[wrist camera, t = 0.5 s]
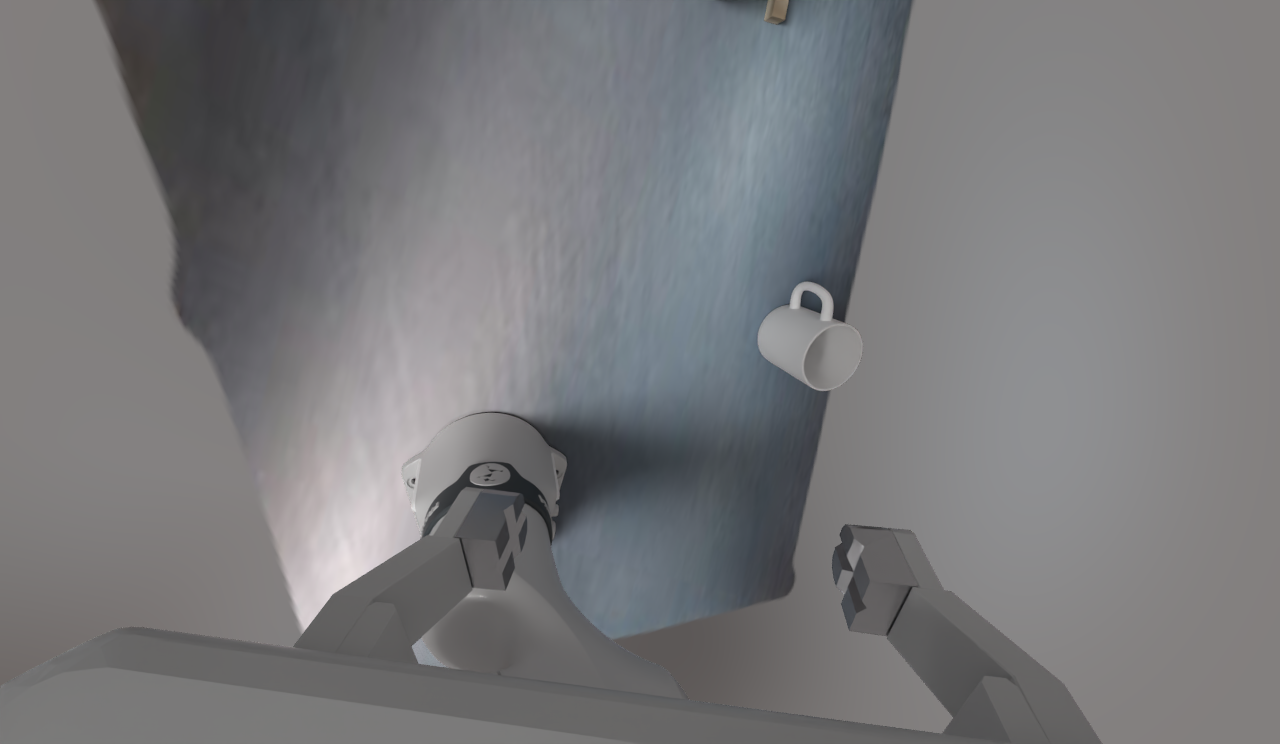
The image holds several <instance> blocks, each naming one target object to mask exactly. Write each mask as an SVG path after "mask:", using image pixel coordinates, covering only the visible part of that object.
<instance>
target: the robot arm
mask: <svg viewBox="0 0 1280 744" xmlns="http://www.w3.org/2000/svg"><path fill="white" fill-rule="evenodd" d="M566 468H567V459H566V457H565V456H564V455H563V454H562V453H560V452H559V451H557V450H555V449H554V448H552V447H550V446H549V445H548V444H547V443H546V442H545V440H544V439H543V438H542V436H541V435H540V434H539V432H538V431H537V430H536V429H535V428H534V427H532V426H531V425H530V424H528V423H527V422H525V421H523V420H521V419H519V418H517V417H514V416H511V415H507V414H501V413H481V414H475V415H471V416H468V417H465V418H462V419H460V420H457V421H455V422H454V423H452V424H450V425H449V426H447V427H446V428H444V429H443V430H442V431H441V432H440V433H439V434H438V435H437V436H436V437H435V438H434V439H433V441H432V442H431V443H430V445H429V446H428V447H427V448H426V449H425V450H424V451H423V452H422V453H420V454H418V455H416V456H414V457H413V458H411V459H410V460H408V461H407V462H406V463H405V464H404V465H403V466H402V473H401V475H402V479H403V482H404V485H405V488H406V491H407V494H408V498H409V501H410V504H411V507H412V511H413V513H414V516H415V519H416V523H417V526H418V529H419V532H420V535H421V539H420V540H419V541H417V542H415V543H414V544H412V545H411V546H409V547H407V548H406V549H404V550H403V551H401V552H400V553H398V554H396V555H395V556H393V557H392V558H390V559H388V560H387V561H385V562H384V563H382V564H380V565H379V566H377V567H376V568H374V569H373V570H371V571H369V572H368V573H366V574H365V575H363V576H361V577H360V578H358V579H357V580H355V581H353V582H352V583H350V584H349V585H347V586H345V587H344V588H342V589H341V590H339V591H338V592H336V593H334V594H333V595H332V596H331V598H330V599H329V600H328V602H327V603H326V604H325V605H324V607H323V608H322V609H321V611H320V612H319V613H318V615H317V616H316V617H315V619H314V620H313V621H312V622H311V624H310V625H309V626H308V628H307V629H306V630H305V632H304V633H303V634H302V636H301V637H300V638H299V640H298V641H297V642H296V643H295V645H294V646H293V647H287V646H280V645H272V644H265V643H257V642H250V641H242V640H234V639H227V638H220V637H212V636H205V635H197V634H189V633H182V632H175V631H167V630H160V629H152V628H144V627H125V628H118V629H115V630H111V631H110V632H107V633H105V634H102V635H100V636H98V637H96V638H94V639H91V640H89V641H86V642H84V643H83V644H81V645H78V646H77V647H74V648H72V649H70V650H69V651H66V652H64V653H63V654H61V655H59V656H56V657H55V658H53V659H51V660H48V661H47V662H45V663H43V664H41V665H39V666H37V667H35V668H33V669H31V670H29V671H27V672H25V673H23V674H21V675H19V676H18V677H16V678H14V679H12V680H10V681H8V682H6V683H5V684H3V685H1V686H0V744H1102V743H1101V741H1100V739H1099V738H1098V736H1097V735H1096V733H1095V732H1094V730H1093V729H1092V727H1091V725H1090V724H1089V722H1088V721H1087V719H1086V718H1085V716H1084V714H1083V713H1082V711H1081V710H1080V708H1079V707H1078V705H1077V704H1076V702H1075V701H1074V699H1073V697H1072V696H1071V694H1070V693H1069V691H1068V690H1067V688H1066V686H1065V685H1064V684H1063V683H1062V682H1061V681H1060V680H1059V679H1057V678H1056V677H1055V676H1054V675H1052V674H1051V673H1050V672H1049V671H1048V670H1046V669H1045V668H1044V667H1043V666H1041V665H1040V664H1039V663H1038V662H1037V661H1035V660H1034V659H1033V658H1032V657H1030V656H1029V655H1028V654H1027V653H1026V652H1024V651H1023V650H1022V649H1021V648H1019V647H1018V646H1017V645H1016V644H1015V643H1014V642H1012V641H1011V640H1010V639H1009V638H1007V637H1006V636H1005V635H1004V634H1003V633H1001V632H1000V631H999V630H998V629H996V628H995V627H994V626H993V625H992V624H990V623H989V622H988V621H987V620H985V619H984V618H983V617H982V616H980V615H979V614H978V613H977V612H976V611H975V610H973V609H972V608H971V607H970V606H968V605H967V604H966V603H965V602H964V601H962V600H961V599H960V598H959V597H957V596H956V595H955V594H954V593H953V592H951V591H945V590H944V589H943V587H942V585H941V583H940V581H939V579H938V578H937V576H936V574H935V572H934V570H933V568H932V566H931V564H930V562H929V561H928V559H927V557H926V555H925V553H924V551H923V549H922V547H921V545H920V543H919V541H918V540H917V538H916V536H915V534H914V533H913V532H912V531H911V530H904V529H892V528H882V527H871V526H858V525H846V524H845V526H843V528H842V530H841V533H840V537H841V540H842V543H841V544H840V545H838V546H837V547H835V551H834V554H833V559H832V570H833V577H834V581H835V584H836V587H837V588H838V589H839V590H840V591H841V592H842V593H843V594H844V598H843V601H842V603H841V605H842V608H843V612H844V615H845V618H846V621H847V625H848V628H849V631H854V632H861V633H868V634H875V635H882V636H888V637H887V639H888V640H889V641H890V642H891V644H892V645H893V646H894V647H895V648H896V650H897V651H898V652H899V653H900V655H901V656H902V657H903V658H904V659H905V660H906V662H907V663H908V664H909V665H910V666H911V667H912V669H913V670H914V671H915V672H916V674H917V675H918V676H919V677H920V678H921V680H922V681H923V682H924V683H925V684H926V686H927V687H928V688H929V689H930V690H931V692H933V694H934V695H935V696H936V697H937V699H938V700H939V701H940V702H941V703H942V705H943V706H944V707H945V708H946V709H947V711H948V712H949V713H950V714H951V715H952V717H953V719H952V721H951V722H950V723H949V725H948V726H947V727H946V729H945V730H944V732H943V733H942V734H939V733H932V732H925V731H917V730H909V729H902V728H895V727H887V726H880V725H872V724H865V723H857V722H849V721H842V720H834V719H826V718H819V717H812V716H804V715H797V714H788V713H781V712H773V711H767V710H759V709H751V708H744V707H737V706H729V705H722V704H714V703H707V702H698V701H692V700H689V698H688V697H687V695H686V694H685V692H684V690H683V689H682V688H681V686H680V685H679V683H678V682H677V681H676V680H675V678H674V677H673V676H672V675H671V674H670V673H669V672H668V671H667V670H666V669H665V668H663V667H662V666H660V665H658V664H655V663H653V662H650V661H647V660H645V659H643V658H641V657H638V656H637V655H635V654H633V653H631V652H629V651H627V650H626V649H624V648H623V647H621V646H620V645H618V644H617V643H615V642H613V641H612V640H611V639H610V638H608V637H607V636H606V635H604V634H603V633H602V632H601V631H600V630H599V629H597V628H596V627H595V626H594V625H593V624H592V623H591V622H590V621H589V620H588V619H587V618H586V617H585V616H584V615H583V614H582V613H581V612H580V611H579V609H578V608H577V607H576V606H575V605H574V603H573V602H572V601H571V599H570V598H569V597H568V595H567V593H566V592H565V590H564V588H563V586H562V584H561V581H560V578H559V575H558V572H557V568H556V565H555V561H554V557H553V553H552V549H551V544H552V540H553V539H554V536H555V529H556V526H555V522H554V521H552V517H551V516H557V515H558V512H559V506H558V504H556V501H557V500H558V499H559V497H560V493H559V490H560V487H561V484H562V481H563V477H564V474H565V471H566ZM556 470H558V471H557V472H556ZM413 478H416V480H415V481H414V480H413ZM420 638H422V640H423V642H424V643H425V645H426V646H427V648H428V649H429V651H430V652H431V654H432V655H433V656H434V657H435V658H436V659H437V660H438V661H439V662H440V663H442V664H443V665H445V666H446V667H448V668H445V667H437V666H430V665H422V664H418V661H417V659H416V656H415V654H414V652H413V649H412V647H411V646H412V645H413V644H414V643H416V642H417V641H418V640H419V639H420Z"/></svg>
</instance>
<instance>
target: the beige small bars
mask: <svg viewBox="0 0 1280 744" xmlns="http://www.w3.org/2000/svg"><path fill="white" fill-rule="evenodd" d="M788 2H789V0H768V2H767V8H766V13H765V19H764V21H766V22H769V23H773V24H776V25H777V24H779V23H780V22H782V21H784V20H785V17H786V12H787V7H788Z"/></svg>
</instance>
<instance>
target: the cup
mask: <svg viewBox="0 0 1280 744" xmlns="http://www.w3.org/2000/svg"><path fill="white" fill-rule="evenodd" d="M806 290H807V291H811V292H813V293H815V294H816V295H818V296H819V297H820V299H821V301H822V311H821V314H820V313H817V312H815V311H812V310H809V309H807V308H804V307H801V306H800V304H801V296H802V293H803V291H806ZM833 307H834V306H833V299H832V297H831V295H830V293H829V292H828V291H827V290H826V289H825V288H823V287H822V286H820V285H818V284H816V283H813V282H802V283H800V284H798V285H797V286H796V287H795V288H794V290H793V292H792V295H791V300H790V305H783V306H780V307H778V308H776V309H774V310H773V311H772V312H770V313H769V314H768V315H767V316H766V317H765V319H764V320H763V322H762V324H761V326H760V328H759V331H758V338H757V341H758V347H759V350H760V352H761V354H762V355H763V356H764V358H765V359H767V360H768V361H769V362H771V363H772V364H774V365H776V366H777V367H779V368H780V369H782V370H784V371H785V372H787V373H789V374H790V375H792V376H793V377H795V378H797V379H798V380H800V381H802V382H803V383H805V384H806V385H808V386H810V387H811V388H813V389H815V390H819V391H828V390H832V389H835V388H837V387H839V386H841V385H842V384H844V383H845V382H846V381H847V380H848V379H849V378H850V377H851V376H852V375H853V374H854V372H855V371H856V369H857V368H858V366H859V363H860V361H861V358H862V353H863V342H862V338H861V335H860V334H859V332H858V331H857V330H856V328H854V327H853V326H851V325H849V324H846V323H844V322H841V321H838V320H836V319H833V318H832V316H833Z"/></svg>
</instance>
